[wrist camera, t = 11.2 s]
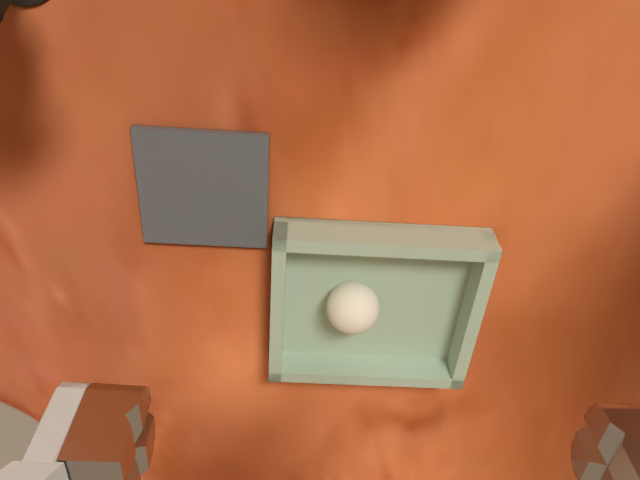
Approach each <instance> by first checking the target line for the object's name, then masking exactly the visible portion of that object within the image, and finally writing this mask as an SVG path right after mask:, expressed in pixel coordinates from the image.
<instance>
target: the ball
mask: <svg viewBox="0 0 640 480" xmlns="http://www.w3.org/2000/svg"><path fill="white" fill-rule="evenodd" d="M326 312H327V316H328V319H329V321H330V322H331V324H332V325H333V326H334V327H335V328H336V329H337V330H339V331H340V332H342V333H345V334H350V335H356V334H361V333H363V332H366V331H367V330H369V329H370V328H371V327H372V326H373V325H374V323H375V322H376V320H377V318H378V315H379V301H378V298H377V296H376V294H375V292H374V291H373V290H372V289H371V288H370V287H369V286H367V285H366V284H364V283H361V282H357V281H348V282H344V283H342V284H340V285H338V286H337V287H336V288H334V289H333V291H332V292H331V293H330V295H329V297H328V300H327V304H326Z"/></svg>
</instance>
